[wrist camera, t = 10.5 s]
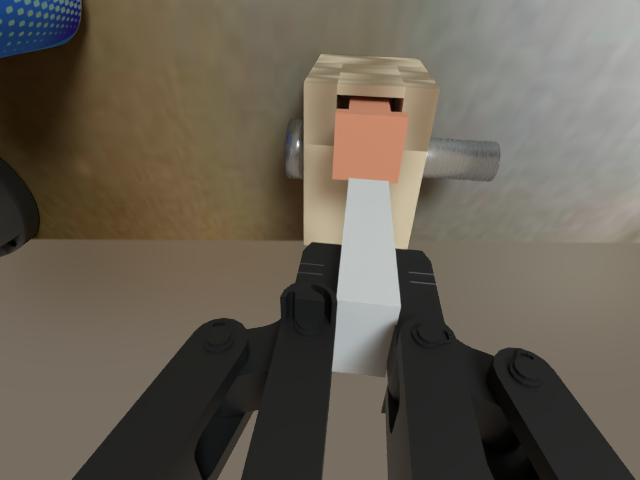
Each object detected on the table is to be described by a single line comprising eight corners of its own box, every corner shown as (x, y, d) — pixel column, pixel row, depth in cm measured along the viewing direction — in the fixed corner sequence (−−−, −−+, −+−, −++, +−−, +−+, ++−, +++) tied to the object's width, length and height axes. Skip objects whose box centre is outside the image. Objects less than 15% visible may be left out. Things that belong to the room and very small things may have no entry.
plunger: (339, 132, 27) (332, 179, 20) (342, 79, 24) (335, 113, 18) (389, 135, 26) (397, 183, 20) (397, 82, 24) (408, 117, 18)
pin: (295, 164, 32) (286, 188, 28) (294, 111, 29) (284, 129, 26) (476, 176, 31) (491, 202, 27) (492, 122, 28) (511, 143, 25)
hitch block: (317, 184, 37) (303, 244, 29) (320, 54, 30) (303, 82, 22) (396, 190, 37) (406, 253, 28) (418, 58, 30) (440, 89, 21)
